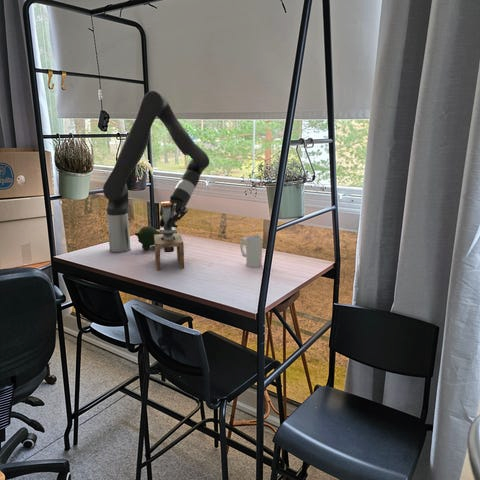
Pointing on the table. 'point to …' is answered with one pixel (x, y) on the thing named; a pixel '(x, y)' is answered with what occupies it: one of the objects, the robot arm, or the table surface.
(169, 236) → the pin
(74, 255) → the table surface
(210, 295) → the table surface
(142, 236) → the toy figurine
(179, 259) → the wooden block with hole
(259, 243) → the mug
